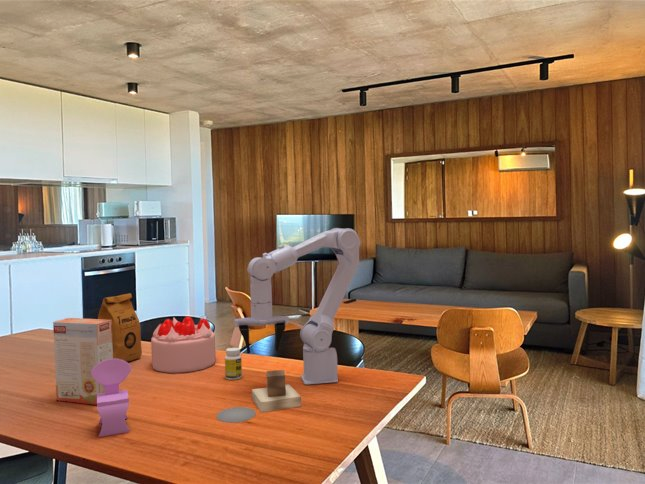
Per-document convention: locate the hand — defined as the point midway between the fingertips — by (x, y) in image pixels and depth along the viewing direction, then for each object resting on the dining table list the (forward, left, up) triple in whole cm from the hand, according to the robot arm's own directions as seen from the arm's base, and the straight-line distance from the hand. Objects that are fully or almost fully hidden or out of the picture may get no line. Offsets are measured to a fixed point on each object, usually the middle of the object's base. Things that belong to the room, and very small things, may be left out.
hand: (262, 351), depth 140 cm
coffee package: (+44, -38, -10) cm, 59 cm away
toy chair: (+35, +19, -10) cm, 41 cm away
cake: (+23, -29, -10) cm, 38 cm away
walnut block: (-2, +13, -7) cm, 15 cm away
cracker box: (+46, -2, -10) cm, 47 cm away
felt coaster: (+8, +18, -10) cm, 22 cm away
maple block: (-2, +12, -10) cm, 16 cm away
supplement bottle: (+8, -11, -10) cm, 17 cm away
